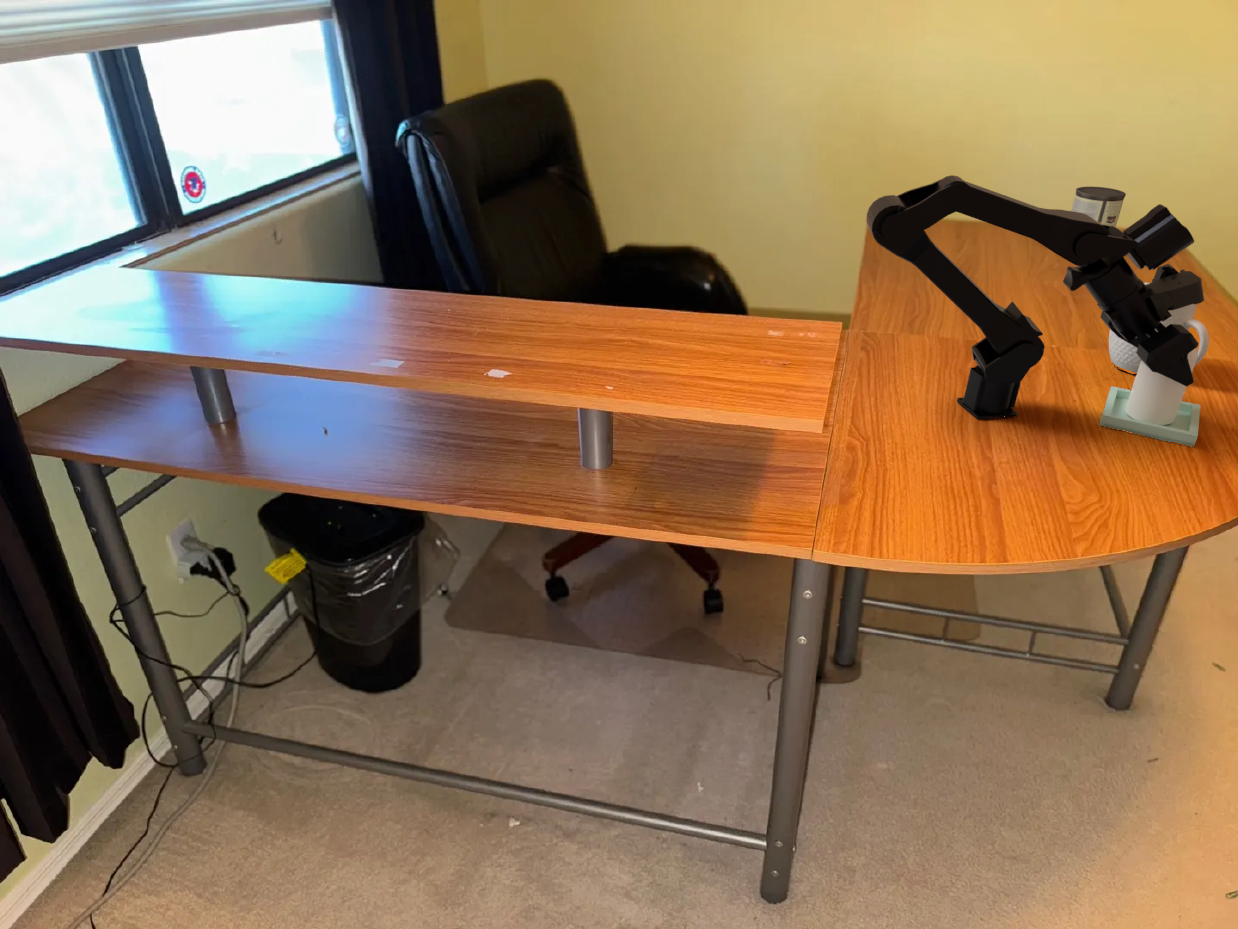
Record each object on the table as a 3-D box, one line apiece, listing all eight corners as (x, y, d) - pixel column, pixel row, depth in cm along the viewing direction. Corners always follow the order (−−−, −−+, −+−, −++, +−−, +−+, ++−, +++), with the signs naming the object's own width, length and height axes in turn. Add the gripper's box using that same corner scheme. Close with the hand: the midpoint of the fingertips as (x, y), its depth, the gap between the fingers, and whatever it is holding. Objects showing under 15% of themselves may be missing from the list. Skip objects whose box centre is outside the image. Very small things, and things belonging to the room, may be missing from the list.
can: (1183, 426, 127) (1212, 348, 121) (1141, 427, 126) (1168, 349, 120) (1155, 407, 132) (1181, 331, 126) (1114, 408, 132) (1139, 332, 126)
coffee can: (1069, 243, 215) (1085, 184, 208) (1114, 252, 209) (1132, 191, 202) (1053, 251, 208) (1069, 190, 201) (1099, 260, 202) (1117, 198, 195)
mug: (1209, 381, 143) (1238, 304, 136) (1173, 396, 137) (1202, 316, 131) (1121, 351, 154) (1144, 278, 147) (1084, 363, 148) (1107, 288, 142)
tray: (1193, 447, 122) (1197, 436, 122) (1098, 425, 128) (1102, 414, 127) (1196, 415, 131) (1200, 404, 130) (1107, 396, 137) (1111, 386, 136)
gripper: (1206, 273, 110) (1267, 361, 114) (1148, 234, 126) (1203, 313, 130) (1121, 329, 114) (1182, 412, 119) (1075, 284, 131) (1131, 359, 135)
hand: (1176, 370), depth 125 cm, fingers open, 9 cm apart
